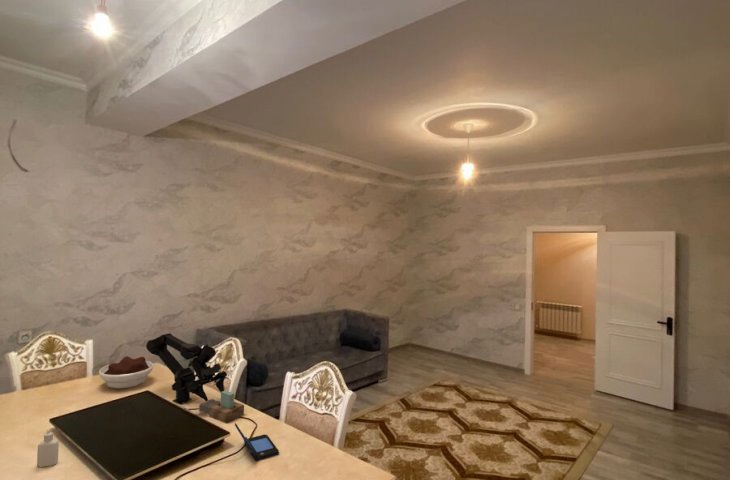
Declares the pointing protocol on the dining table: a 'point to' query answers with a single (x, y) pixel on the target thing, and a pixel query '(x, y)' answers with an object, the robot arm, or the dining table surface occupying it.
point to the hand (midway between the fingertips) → (215, 397)
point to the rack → (226, 412)
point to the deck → (207, 406)
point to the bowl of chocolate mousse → (126, 372)
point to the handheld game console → (259, 446)
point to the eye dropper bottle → (47, 450)
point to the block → (227, 399)
